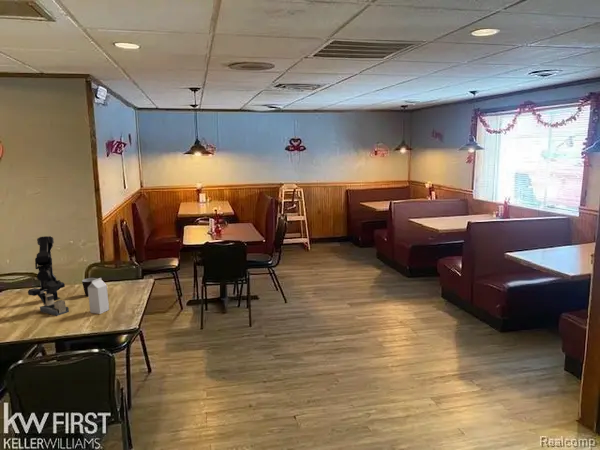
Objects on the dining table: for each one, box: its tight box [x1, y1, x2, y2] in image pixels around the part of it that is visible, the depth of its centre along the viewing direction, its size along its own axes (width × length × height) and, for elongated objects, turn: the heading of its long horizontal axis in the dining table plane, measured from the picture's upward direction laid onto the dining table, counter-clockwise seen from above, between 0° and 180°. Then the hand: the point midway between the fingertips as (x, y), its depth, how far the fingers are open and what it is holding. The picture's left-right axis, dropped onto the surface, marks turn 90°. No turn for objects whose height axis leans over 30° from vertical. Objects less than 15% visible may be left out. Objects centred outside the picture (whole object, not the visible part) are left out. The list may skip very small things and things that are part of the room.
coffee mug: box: [81, 277, 97, 298], centre depth 294 cm, size 12×9×10 cm
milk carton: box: [88, 277, 110, 315], centre depth 260 cm, size 7×7×19 cm
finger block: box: [42, 293, 55, 306], centre depth 265 cm, size 5×4×6 cm
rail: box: [39, 299, 70, 317], centre depth 263 cm, size 16×7×7 cm, turn 60°
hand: (48, 302), depth 265 cm, fingers closed on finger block, 4 cm apart
